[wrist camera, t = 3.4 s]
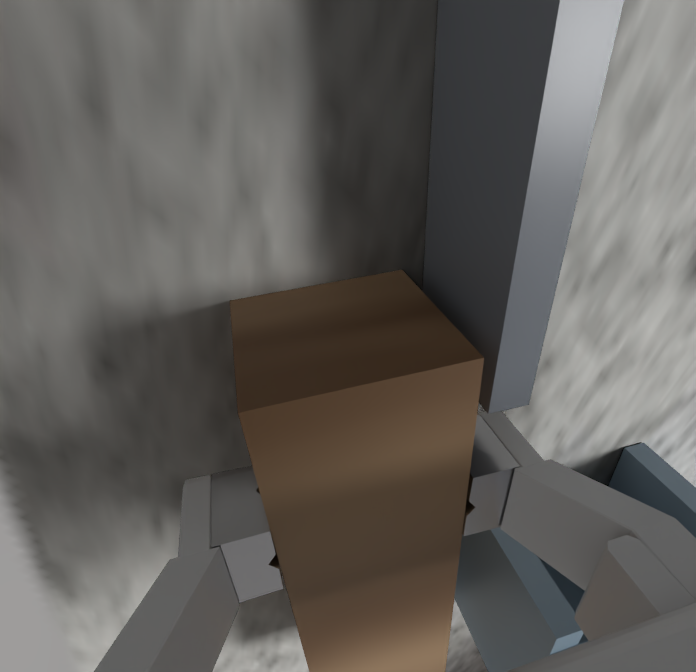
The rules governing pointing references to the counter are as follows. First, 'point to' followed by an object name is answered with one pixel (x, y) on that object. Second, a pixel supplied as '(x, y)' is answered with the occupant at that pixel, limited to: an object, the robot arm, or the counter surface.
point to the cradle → (509, 170)
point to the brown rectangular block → (361, 462)
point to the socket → (548, 573)
